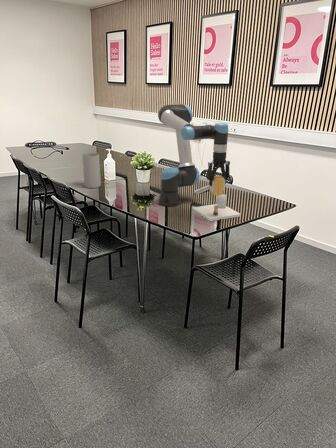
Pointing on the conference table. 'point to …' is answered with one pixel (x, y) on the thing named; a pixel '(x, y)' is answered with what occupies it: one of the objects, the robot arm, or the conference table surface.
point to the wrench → (202, 189)
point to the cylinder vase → (91, 170)
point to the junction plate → (210, 211)
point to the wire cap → (218, 185)
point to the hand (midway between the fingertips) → (217, 190)
